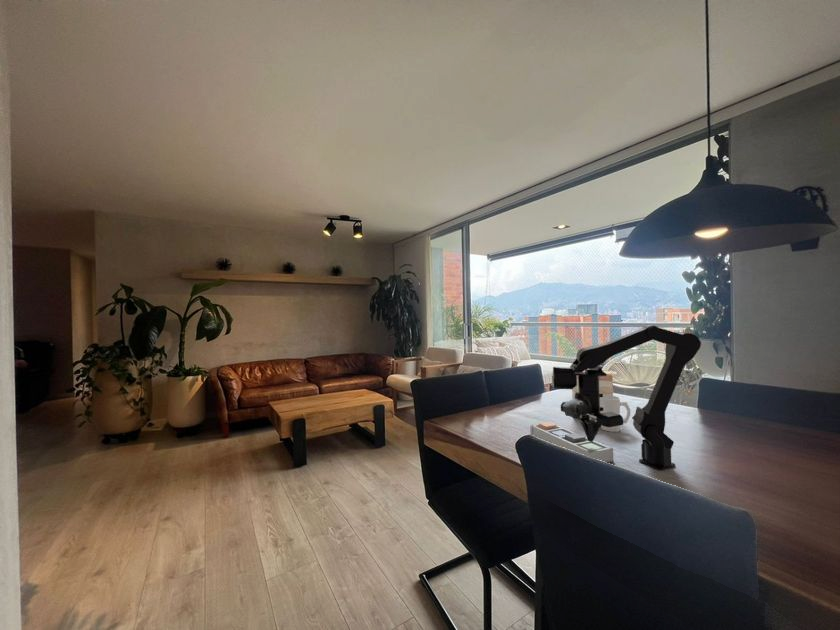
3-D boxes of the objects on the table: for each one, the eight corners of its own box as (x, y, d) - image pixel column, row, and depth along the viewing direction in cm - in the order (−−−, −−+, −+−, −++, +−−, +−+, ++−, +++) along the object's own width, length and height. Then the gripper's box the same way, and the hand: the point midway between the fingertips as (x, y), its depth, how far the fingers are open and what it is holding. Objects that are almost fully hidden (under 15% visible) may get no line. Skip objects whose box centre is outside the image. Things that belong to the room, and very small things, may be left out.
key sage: (602, 455, 103) (602, 447, 103) (591, 458, 101) (591, 450, 101) (591, 450, 107) (591, 443, 107) (580, 452, 105) (580, 445, 105)
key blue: (570, 441, 115) (570, 434, 115) (560, 443, 114) (559, 435, 114) (561, 437, 119) (561, 430, 119) (551, 438, 118) (551, 431, 118)
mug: (599, 430, 128) (598, 398, 128) (600, 425, 134) (599, 394, 134) (631, 434, 123) (630, 401, 123) (630, 428, 129) (629, 397, 129)
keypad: (613, 461, 102) (613, 447, 102) (589, 466, 99) (589, 453, 99) (550, 432, 128) (550, 422, 128) (530, 436, 125) (530, 425, 125)
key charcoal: (585, 444, 109) (585, 436, 109) (574, 446, 108) (574, 438, 108) (575, 440, 113) (575, 432, 113) (565, 442, 112) (564, 434, 112)
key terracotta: (556, 431, 121) (556, 424, 121) (546, 433, 120) (546, 426, 120) (548, 428, 125) (548, 421, 125) (538, 429, 124) (538, 423, 124)
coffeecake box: (614, 418, 142) (612, 371, 142) (613, 423, 136) (612, 374, 136) (575, 413, 150) (573, 369, 150) (572, 418, 144) (571, 371, 144)
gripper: (546, 386, 110) (547, 435, 110) (593, 399, 93) (595, 457, 93) (573, 383, 114) (575, 430, 114) (623, 395, 96) (625, 450, 96)
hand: (590, 441), depth 104 cm, fingers closed
